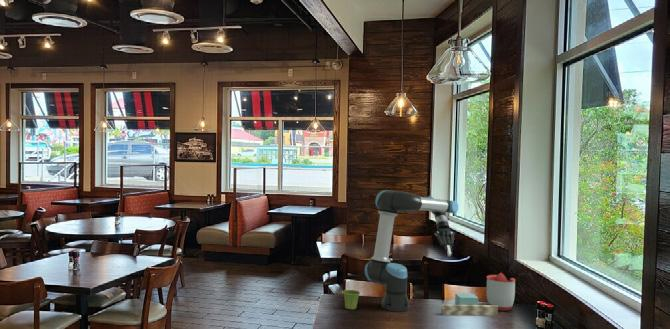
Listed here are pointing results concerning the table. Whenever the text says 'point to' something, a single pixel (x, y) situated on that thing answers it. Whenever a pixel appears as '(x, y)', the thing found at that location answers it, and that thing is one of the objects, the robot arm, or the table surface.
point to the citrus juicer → (500, 291)
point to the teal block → (466, 299)
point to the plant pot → (351, 298)
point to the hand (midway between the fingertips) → (449, 255)
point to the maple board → (470, 310)
